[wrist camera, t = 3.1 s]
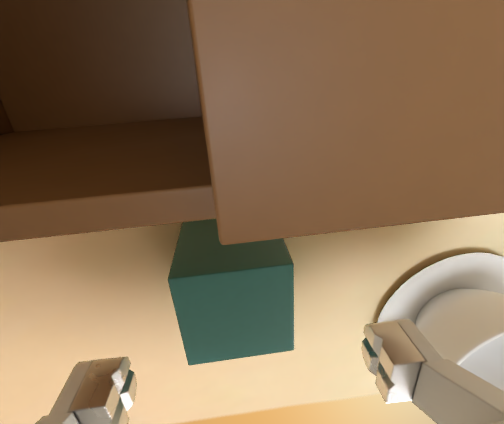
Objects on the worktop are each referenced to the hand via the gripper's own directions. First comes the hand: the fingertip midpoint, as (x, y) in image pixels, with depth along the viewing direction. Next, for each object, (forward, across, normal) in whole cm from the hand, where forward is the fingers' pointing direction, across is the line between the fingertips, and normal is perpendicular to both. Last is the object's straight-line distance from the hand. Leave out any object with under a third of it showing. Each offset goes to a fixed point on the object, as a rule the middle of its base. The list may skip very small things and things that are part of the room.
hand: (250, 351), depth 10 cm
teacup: (+6, -13, +6) cm, 16 cm away
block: (+6, 0, 0) cm, 6 cm away
